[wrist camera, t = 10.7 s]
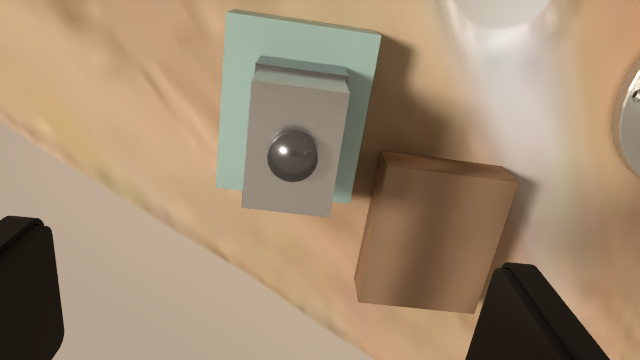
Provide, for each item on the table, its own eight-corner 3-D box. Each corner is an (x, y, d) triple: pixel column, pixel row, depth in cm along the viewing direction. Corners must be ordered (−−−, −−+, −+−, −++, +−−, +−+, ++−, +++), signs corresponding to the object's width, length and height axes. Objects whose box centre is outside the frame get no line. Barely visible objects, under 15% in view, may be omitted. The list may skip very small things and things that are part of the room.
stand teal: (374, 30, 30) (381, 35, 27) (346, 185, 34) (349, 203, 31) (234, 9, 29) (226, 12, 26) (223, 170, 33) (215, 187, 30)
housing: (344, 66, 27) (356, 93, 21) (327, 174, 30) (333, 228, 23) (260, 54, 27) (245, 78, 20) (251, 165, 30) (234, 217, 23)
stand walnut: (501, 166, 33) (519, 182, 31) (462, 289, 38) (474, 314, 35) (380, 150, 33) (387, 166, 30) (354, 278, 37) (358, 302, 34)
